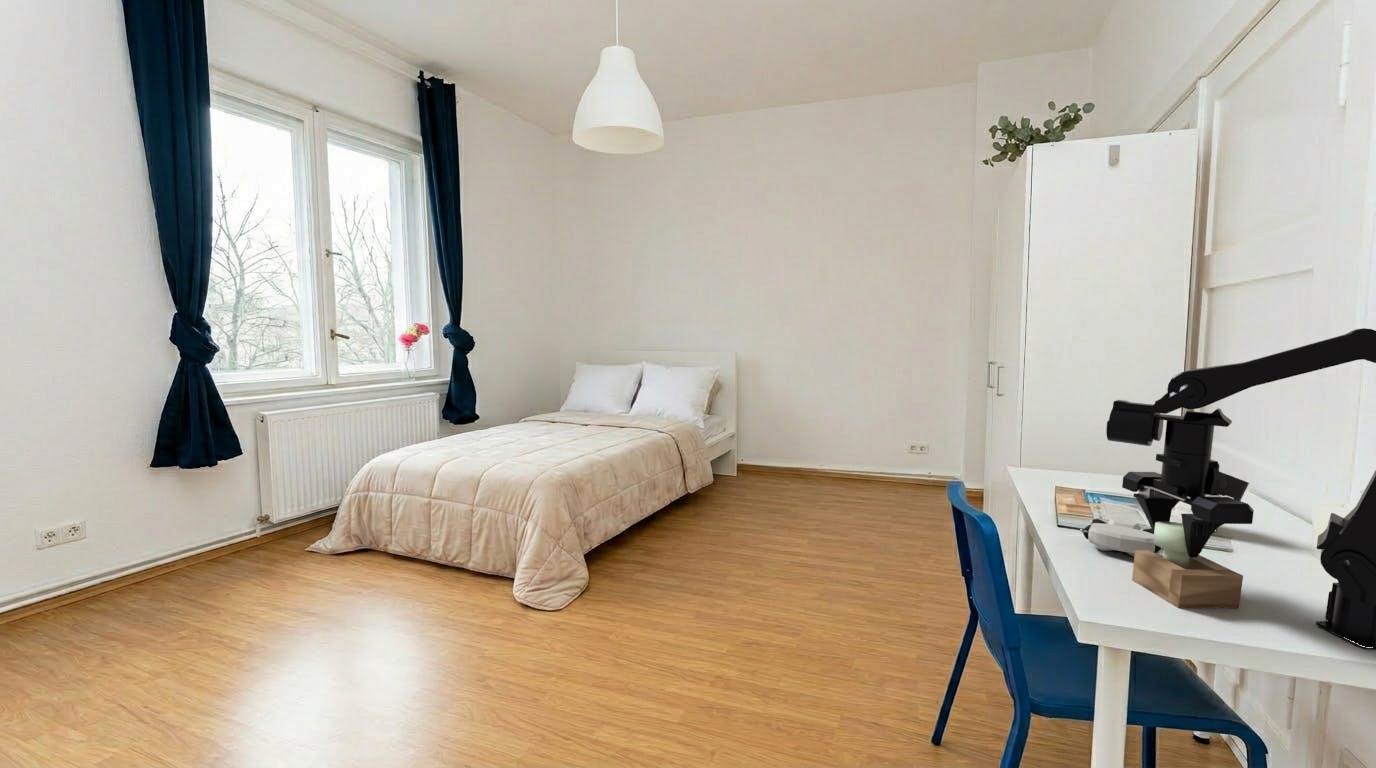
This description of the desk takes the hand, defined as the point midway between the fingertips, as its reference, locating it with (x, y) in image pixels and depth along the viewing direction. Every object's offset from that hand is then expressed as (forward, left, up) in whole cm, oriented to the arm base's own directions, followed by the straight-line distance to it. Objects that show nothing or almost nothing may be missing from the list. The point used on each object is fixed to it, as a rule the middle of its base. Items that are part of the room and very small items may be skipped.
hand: (1176, 549), depth 98 cm
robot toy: (+17, -4, -7) cm, 19 cm away
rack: (-2, 0, -6) cm, 7 cm away
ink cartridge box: (+29, -26, -6) cm, 39 cm away
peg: (0, 0, -2) cm, 2 cm away
